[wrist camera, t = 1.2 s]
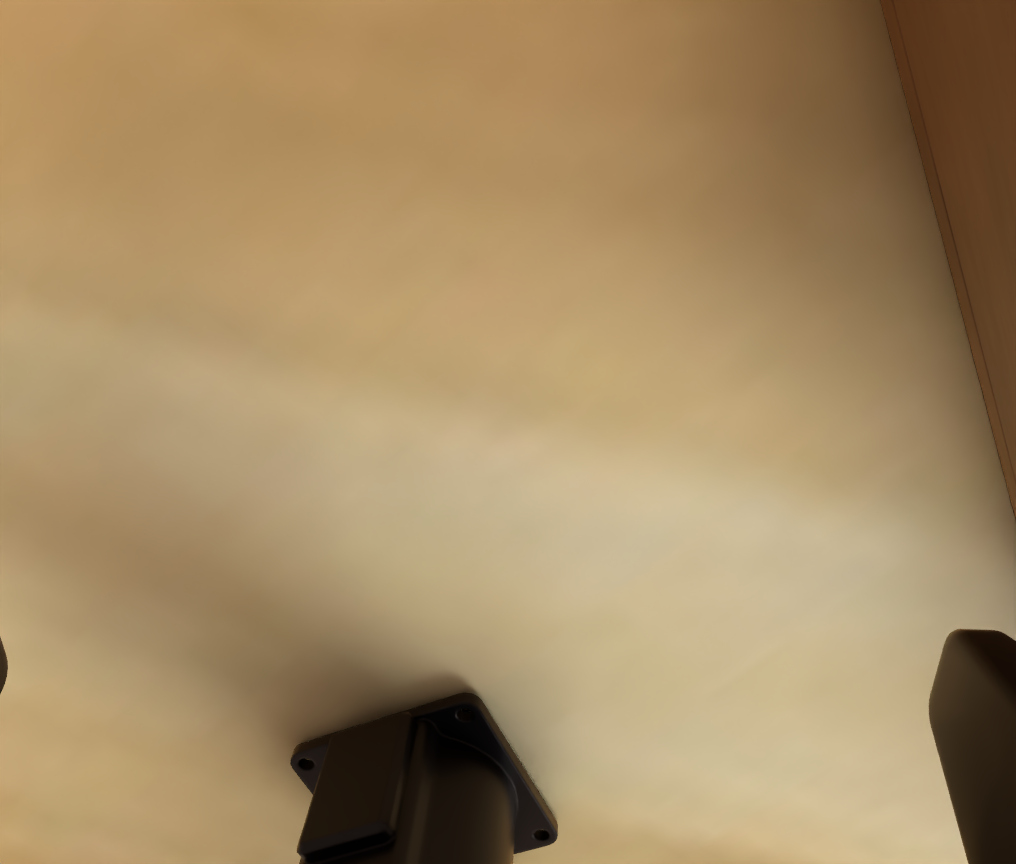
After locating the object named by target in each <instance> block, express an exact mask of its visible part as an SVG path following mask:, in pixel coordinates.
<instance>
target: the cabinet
mask: <svg viewBox="0 0 1016 864" xmlns="http://www.w3.org/2000/svg"><path fill="white" fill-rule="evenodd" d="M880 1H881V5H882V9H883V12H884V16H885V20H886V24H887V28H888V32H889V35H890V39H891V43H892V47H893V51H894V55H895V58H896V62H897V66H898V70H899V74H900V78H901V81H902V85H903V89H904V93H905V97H906V101H907V104H908V108H909V112H910V116H911V120H912V124H913V127H914V131H915V135H916V139H917V143H918V147H919V150H920V154H921V158H922V162H923V166H924V170H925V173H926V177H927V181H928V185H929V189H930V193H931V196H932V200H933V204H934V208H935V212H936V216H937V219H938V223H939V227H940V231H941V235H942V239H943V242H944V246H945V250H946V254H947V258H948V262H949V265H950V269H951V273H952V277H953V281H954V285H955V288H956V292H957V296H958V300H959V304H960V308H961V311H962V315H963V319H964V323H965V327H966V331H967V334H968V338H969V342H970V346H971V350H972V354H973V357H974V361H975V365H976V369H977V373H978V377H979V380H980V384H981V388H982V392H983V396H984V400H985V403H986V407H987V411H988V415H989V419H990V423H991V426H992V430H993V434H994V438H995V442H996V446H997V449H998V453H999V457H1000V461H1001V465H1002V468H1003V472H1004V476H1005V480H1006V484H1007V488H1008V491H1009V495H1010V499H1011V503H1012V507H1013V511H1014V514H1015V518H1016V0H880Z"/></svg>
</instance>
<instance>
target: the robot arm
mask: <svg viewBox="0 0 1016 864" xmlns="http://www.w3.org/2000/svg"><path fill="white" fill-rule="evenodd" d="M7 670H8V665H7V657H6V653H5V650H4V647H3V644H2V641H1V638H0V694H1V691H2V689H3V687H4V684H5V681H6V677H7ZM461 709H468V710H471V712H465V711H462V710H461ZM929 718H930V724H931V728H932V732H933V735H934V739H935V743H936V746H937V750H938V754H939V757H940V761H941V765H942V768H943V772H944V776H945V779H946V783H947V787H948V790H949V794H950V798H951V801H952V805H953V809H954V812H955V816H956V820H957V823H958V827H959V831H960V834H961V838H962V842H963V846H964V849H965V853H966V857H967V860H968V863H969V864H1016V641H1015V640H1013V639H1012V638H1010V637H1009V636H1007V635H1006V634H1004V633H1002V632H999V631H995V630H972V629H957V630H955V631H953V632H951V633H950V634H949V636H948V637H947V639H946V641H945V644H944V647H943V651H942V654H941V658H940V662H939V665H938V669H937V672H936V676H935V680H934V683H933V687H932V690H931V694H930V699H929ZM305 758H307V759H305ZM308 759H310V760H308ZM291 766H292V768H293V769H294V771H295V772H296V773H297V775H298V776H299V777H300V779H301V780H302V781H303V782H304V784H305V785H306V786H307V788H308V789H309V790H310V792H311V793H312V794H313V797H312V801H311V804H310V807H309V810H308V814H307V817H306V820H305V823H304V827H303V830H302V833H301V836H300V840H299V843H298V846H297V853H298V854H299V855H300V856H301V859H300V863H299V864H513V854H516V853H520V852H524V851H528V850H532V849H536V848H539V847H543V846H547V845H550V844H552V843H554V842H555V841H556V839H557V836H558V824H557V821H556V819H555V818H554V816H553V815H552V813H551V811H550V810H549V808H548V806H547V805H546V803H545V802H544V800H543V798H542V797H541V795H540V794H539V792H538V790H537V789H536V787H535V786H534V784H533V782H532V781H531V779H530V777H529V776H528V774H527V773H526V771H525V769H524V768H523V766H522V765H521V763H520V761H519V760H518V758H517V757H516V755H515V753H514V752H513V750H512V749H511V747H510V745H509V744H508V742H507V740H506V739H505V737H504V736H503V734H502V732H501V731H500V729H499V728H498V726H497V724H496V723H495V721H494V720H493V718H492V716H491V715H490V713H489V711H488V710H487V708H486V707H485V705H484V703H483V702H482V700H481V699H480V698H479V697H478V696H476V695H474V694H470V693H461V694H457V695H454V696H451V697H447V698H444V699H441V700H438V701H435V702H432V703H428V704H425V705H422V706H419V707H416V708H412V709H409V710H406V711H403V712H400V713H397V714H393V715H390V716H387V717H384V718H381V719H377V720H374V721H371V722H368V723H365V724H362V725H358V726H355V727H352V728H349V729H346V730H342V731H339V732H336V733H333V734H330V735H327V736H323V737H320V738H317V739H314V740H311V741H307V742H304V743H301V744H299V745H298V746H296V748H295V749H294V752H293V755H292V758H291Z"/></svg>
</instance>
